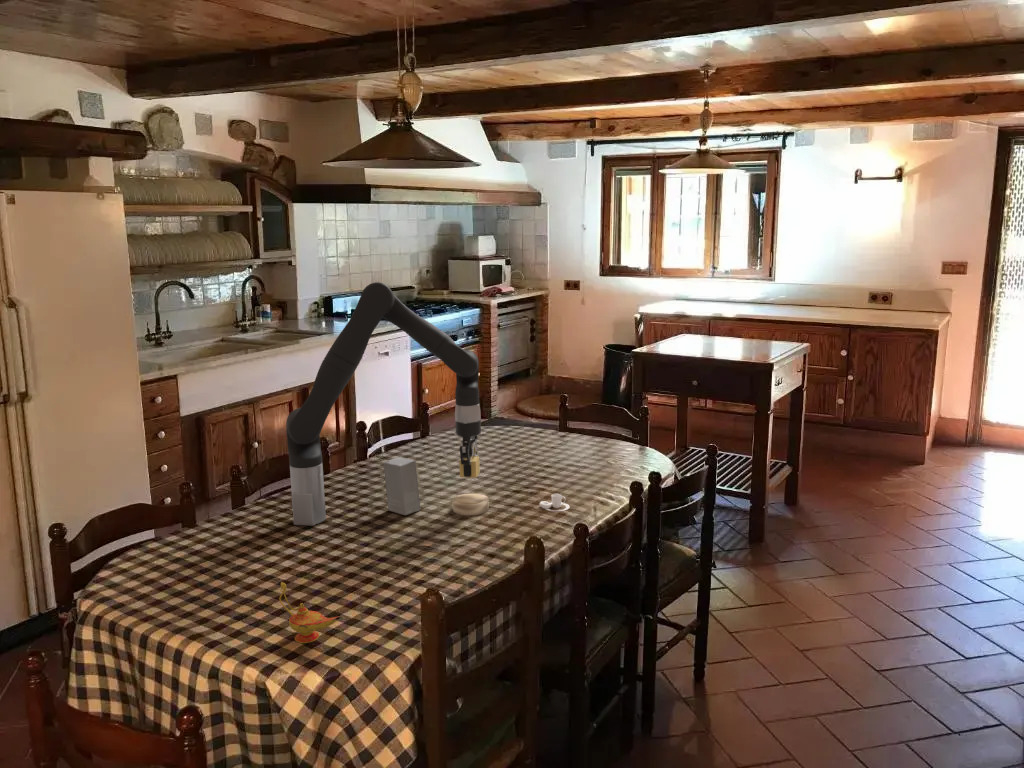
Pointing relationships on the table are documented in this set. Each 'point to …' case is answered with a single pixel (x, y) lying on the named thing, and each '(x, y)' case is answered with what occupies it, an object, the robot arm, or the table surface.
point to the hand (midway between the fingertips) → (469, 473)
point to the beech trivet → (470, 504)
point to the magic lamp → (307, 621)
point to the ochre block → (474, 467)
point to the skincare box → (401, 485)
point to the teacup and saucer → (554, 503)
